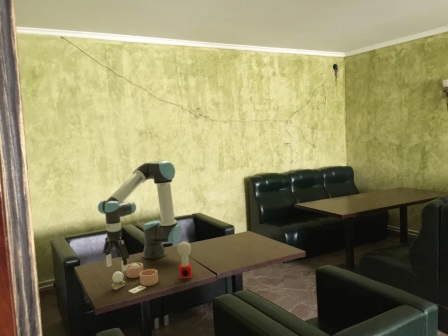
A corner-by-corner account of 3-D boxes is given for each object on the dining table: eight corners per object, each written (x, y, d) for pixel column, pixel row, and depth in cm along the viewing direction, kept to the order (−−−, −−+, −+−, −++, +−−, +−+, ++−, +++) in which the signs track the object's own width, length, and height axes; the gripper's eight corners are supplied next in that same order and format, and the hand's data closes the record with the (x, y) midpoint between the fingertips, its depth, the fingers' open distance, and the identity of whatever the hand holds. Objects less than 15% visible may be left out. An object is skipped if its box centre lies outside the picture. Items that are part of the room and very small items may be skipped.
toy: (193, 272, 216) (191, 239, 214) (192, 278, 208) (190, 243, 206) (179, 273, 215) (177, 240, 213) (178, 279, 207) (175, 244, 205)
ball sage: (127, 274, 217) (127, 264, 217) (136, 270, 222) (135, 261, 221) (134, 276, 214) (133, 266, 213) (142, 272, 218) (141, 263, 218)
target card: (128, 291, 195) (128, 290, 195) (140, 285, 201) (140, 285, 201) (134, 293, 192) (134, 292, 192) (146, 287, 198) (146, 287, 198)
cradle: (111, 288, 200) (111, 283, 200) (122, 283, 205) (122, 279, 205) (115, 289, 198) (114, 284, 198) (126, 285, 203) (125, 280, 203)
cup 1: (123, 275, 217) (123, 266, 217) (136, 270, 224) (135, 261, 224) (134, 279, 211) (133, 269, 211) (146, 273, 219) (146, 264, 218)
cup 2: (137, 283, 205) (136, 273, 204) (150, 277, 212) (149, 268, 212) (148, 287, 199) (147, 277, 199) (161, 280, 206) (160, 271, 206)
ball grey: (110, 283, 201) (109, 272, 200) (119, 279, 206) (118, 268, 205) (117, 285, 197) (116, 274, 197) (126, 281, 202) (125, 271, 201)
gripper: (94, 228, 203) (97, 266, 205) (122, 234, 188) (125, 275, 190) (106, 225, 209) (109, 262, 211) (134, 231, 194) (137, 270, 196)
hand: (116, 268), depth 200 cm, fingers open, 13 cm apart
